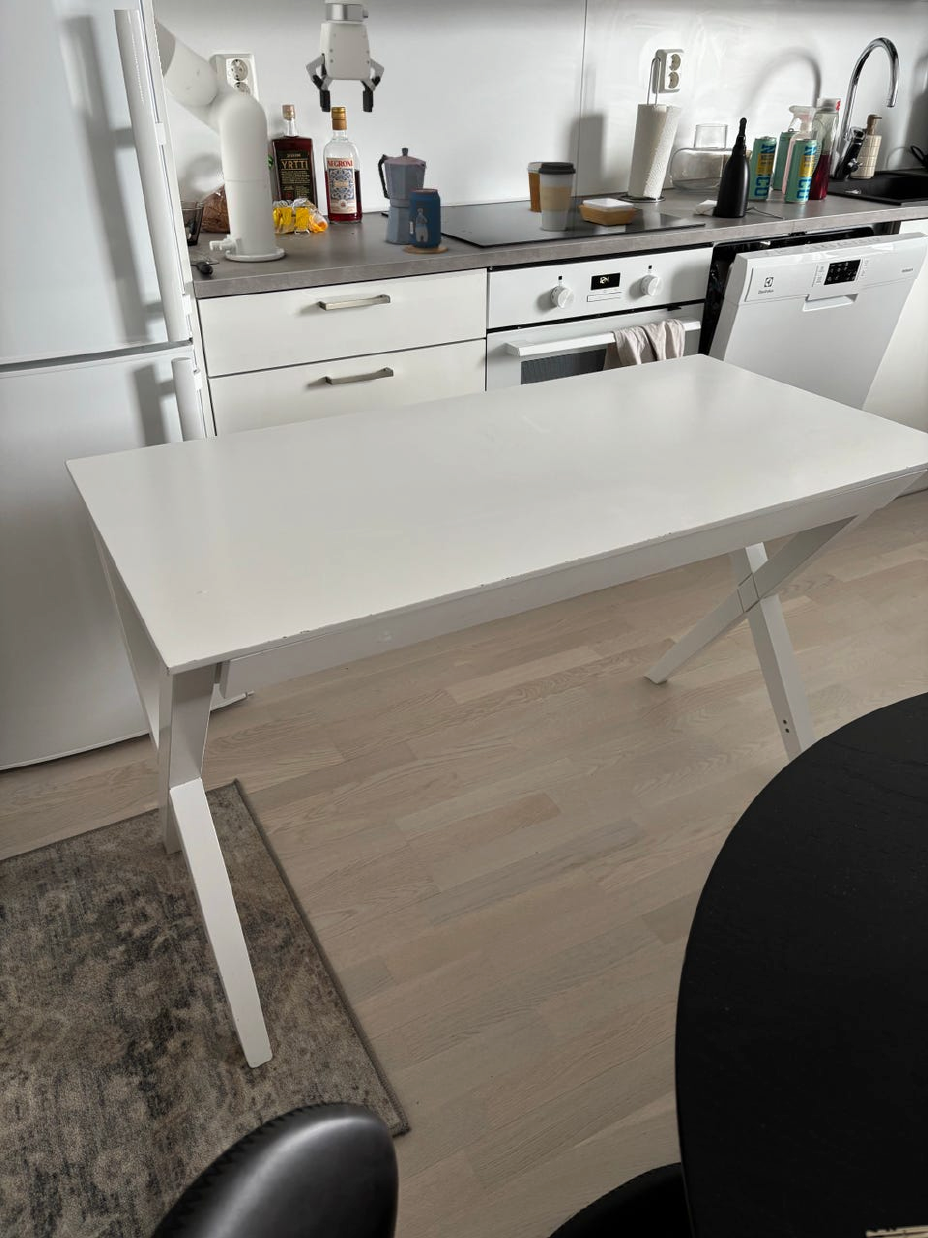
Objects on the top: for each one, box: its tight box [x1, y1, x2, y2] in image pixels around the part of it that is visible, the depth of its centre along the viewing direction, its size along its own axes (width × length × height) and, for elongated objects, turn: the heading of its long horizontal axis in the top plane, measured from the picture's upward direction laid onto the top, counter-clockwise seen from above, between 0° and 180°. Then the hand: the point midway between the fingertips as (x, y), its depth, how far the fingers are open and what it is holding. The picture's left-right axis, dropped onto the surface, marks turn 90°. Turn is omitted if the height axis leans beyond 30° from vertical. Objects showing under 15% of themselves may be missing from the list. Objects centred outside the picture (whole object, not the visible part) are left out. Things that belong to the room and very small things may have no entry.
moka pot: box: [377, 147, 428, 245], centre depth 215 cm, size 10×15×20 cm, turn 53°
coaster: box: [405, 244, 447, 255], centre depth 211 cm, size 9×9×1 cm
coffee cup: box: [538, 161, 577, 232], centre depth 232 cm, size 9×9×15 cm
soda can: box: [409, 187, 442, 250], centre depth 208 cm, size 7×7×12 cm
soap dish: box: [578, 197, 638, 227], centre depth 243 cm, size 12×10×5 cm
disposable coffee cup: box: [526, 161, 546, 213], centre depth 259 cm, size 10×10×12 cm
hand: (347, 111), depth 197 cm, fingers open, 9 cm apart
